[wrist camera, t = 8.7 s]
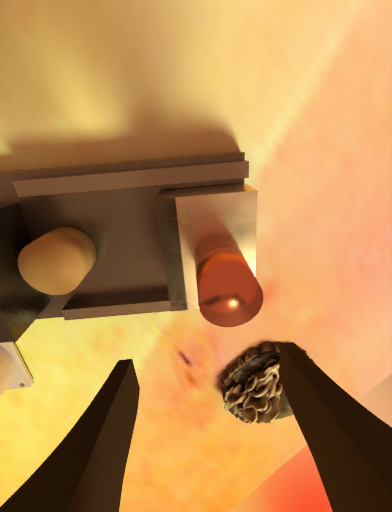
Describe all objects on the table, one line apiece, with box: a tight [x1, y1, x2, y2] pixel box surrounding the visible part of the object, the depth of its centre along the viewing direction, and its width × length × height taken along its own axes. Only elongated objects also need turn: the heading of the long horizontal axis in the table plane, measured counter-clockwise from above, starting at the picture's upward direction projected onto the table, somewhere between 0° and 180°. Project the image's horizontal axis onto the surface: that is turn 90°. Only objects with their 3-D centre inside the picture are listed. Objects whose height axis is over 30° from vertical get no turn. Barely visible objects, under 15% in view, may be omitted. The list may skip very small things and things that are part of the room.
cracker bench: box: [0, 152, 249, 343], centre depth 17 cm, size 20×12×6 cm, turn 94°
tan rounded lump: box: [18, 227, 97, 295], centre depth 17 cm, size 4×4×3 cm
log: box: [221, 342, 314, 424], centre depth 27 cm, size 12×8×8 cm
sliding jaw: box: [155, 184, 263, 327], centre depth 15 cm, size 6×8×8 cm
